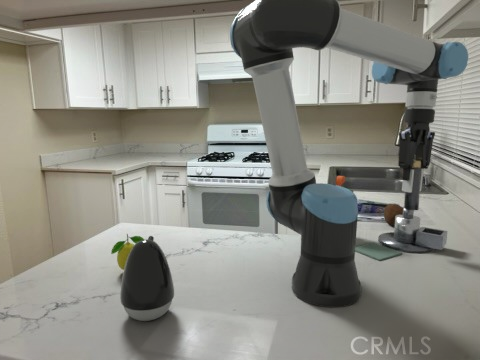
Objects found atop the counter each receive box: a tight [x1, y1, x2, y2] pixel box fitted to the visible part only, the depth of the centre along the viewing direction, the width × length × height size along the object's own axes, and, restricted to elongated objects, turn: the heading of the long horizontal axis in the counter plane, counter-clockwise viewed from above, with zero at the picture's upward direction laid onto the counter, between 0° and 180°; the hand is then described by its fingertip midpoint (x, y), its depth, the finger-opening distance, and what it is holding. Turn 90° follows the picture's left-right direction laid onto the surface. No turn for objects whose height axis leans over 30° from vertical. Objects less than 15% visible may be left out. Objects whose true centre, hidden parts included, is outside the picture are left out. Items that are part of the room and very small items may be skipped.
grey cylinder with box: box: [393, 206, 448, 251], centre depth 108 cm, size 7×14×11 cm, turn 51°
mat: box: [355, 242, 403, 262], centre depth 104 cm, size 10×10×1 cm
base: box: [377, 231, 435, 254], centre depth 112 cm, size 16×16×1 cm
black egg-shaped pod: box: [119, 235, 175, 322], centre depth 70 cm, size 10×10×15 cm
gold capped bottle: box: [403, 159, 421, 211], centre depth 103 cm, size 4×4×14 cm
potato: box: [383, 203, 404, 226], centre depth 130 cm, size 7×10×8 cm
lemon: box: [110, 233, 145, 271], centre depth 90 cm, size 7×6×10 cm
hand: (411, 190), depth 103 cm, fingers closed on gold capped bottle, 4 cm apart
